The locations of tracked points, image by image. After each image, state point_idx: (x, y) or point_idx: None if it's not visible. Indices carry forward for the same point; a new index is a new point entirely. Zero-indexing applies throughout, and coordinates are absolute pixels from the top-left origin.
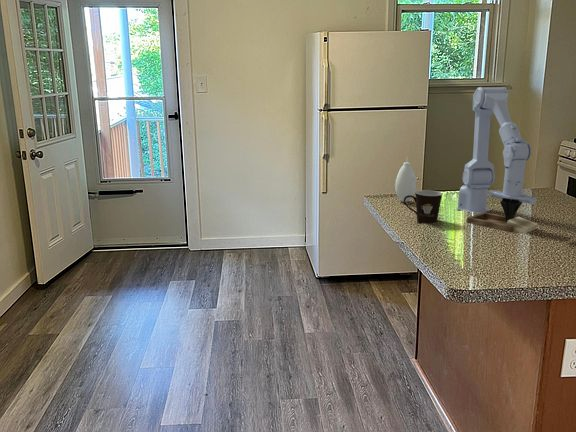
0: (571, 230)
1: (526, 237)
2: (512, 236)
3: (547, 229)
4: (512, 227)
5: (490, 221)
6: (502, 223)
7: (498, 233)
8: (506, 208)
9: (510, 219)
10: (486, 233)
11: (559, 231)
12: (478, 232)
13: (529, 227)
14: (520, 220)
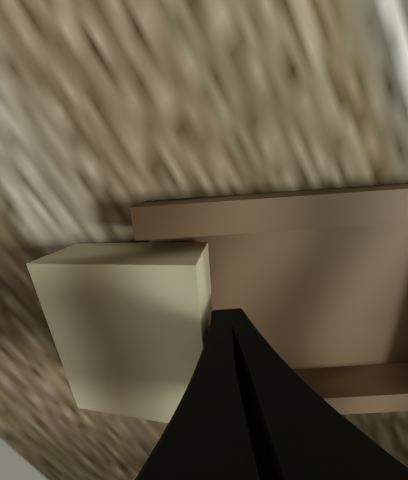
0: (27, 461)
1: (36, 207)
2: (99, 151)
3: (90, 414)
4: (137, 231)
5: (358, 321)
6: (283, 336)
7: (203, 141)
8: (285, 435)
9: (209, 332)
10: (266, 56)
11: (39, 422)
12: (328, 23)
13: (40, 302)
14: (153, 372)
